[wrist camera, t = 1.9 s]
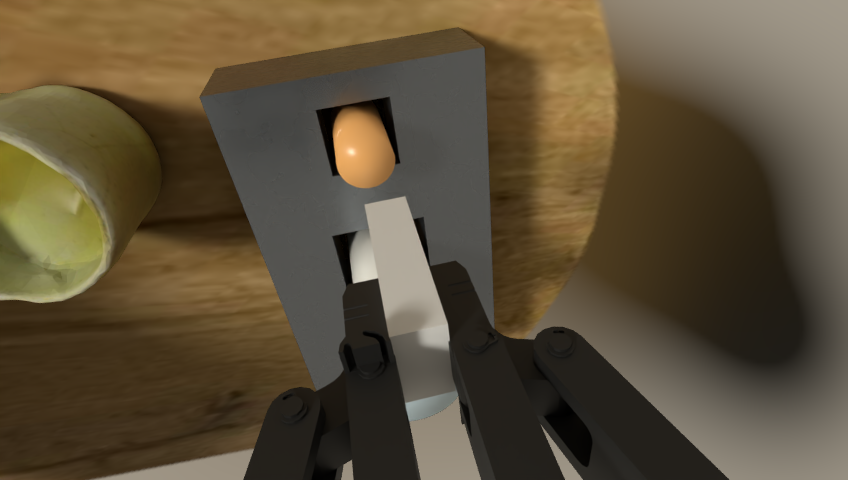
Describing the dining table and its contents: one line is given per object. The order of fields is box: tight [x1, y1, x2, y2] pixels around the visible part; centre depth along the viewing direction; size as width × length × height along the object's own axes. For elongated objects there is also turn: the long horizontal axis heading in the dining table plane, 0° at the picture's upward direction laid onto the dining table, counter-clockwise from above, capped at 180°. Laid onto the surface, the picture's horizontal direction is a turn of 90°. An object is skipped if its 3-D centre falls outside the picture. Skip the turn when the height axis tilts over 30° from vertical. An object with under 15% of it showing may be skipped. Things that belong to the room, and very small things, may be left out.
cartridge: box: [347, 228, 458, 421], centre depth 28 cm, size 5×5×15 cm
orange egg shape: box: [331, 100, 395, 188], centre depth 25 cm, size 3×3×6 cm
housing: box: [200, 28, 494, 391], centre depth 32 cm, size 14×24×5 cm, turn 7°
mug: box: [0, 85, 162, 303], centre depth 24 cm, size 12×10×10 cm
